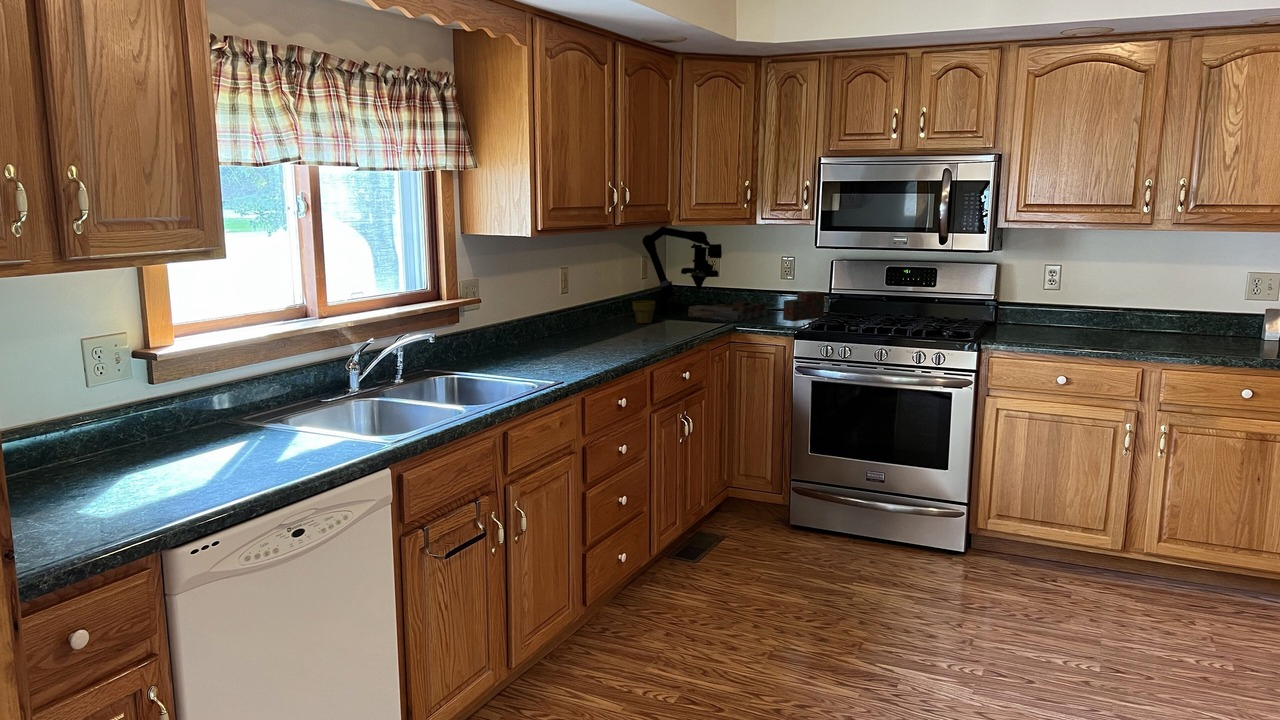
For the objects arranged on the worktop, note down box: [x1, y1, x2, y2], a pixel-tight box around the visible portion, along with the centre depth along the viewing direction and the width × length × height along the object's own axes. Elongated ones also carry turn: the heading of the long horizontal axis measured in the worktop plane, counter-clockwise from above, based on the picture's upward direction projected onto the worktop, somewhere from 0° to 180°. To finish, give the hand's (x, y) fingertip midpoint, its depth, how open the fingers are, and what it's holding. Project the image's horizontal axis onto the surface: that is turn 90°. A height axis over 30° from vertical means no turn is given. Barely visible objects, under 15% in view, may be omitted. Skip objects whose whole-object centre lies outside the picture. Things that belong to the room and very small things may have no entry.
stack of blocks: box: [782, 290, 825, 322], centre depth 428 cm, size 21×6×12 cm, turn 127°
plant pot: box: [632, 300, 656, 324], centre depth 415 cm, size 10×10×10 cm
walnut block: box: [732, 300, 751, 312], centre depth 434 cm, size 6×6×4 cm
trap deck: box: [687, 302, 770, 322], centre depth 441 cm, size 28×35×6 cm
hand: (698, 290), depth 443 cm, fingers closed
